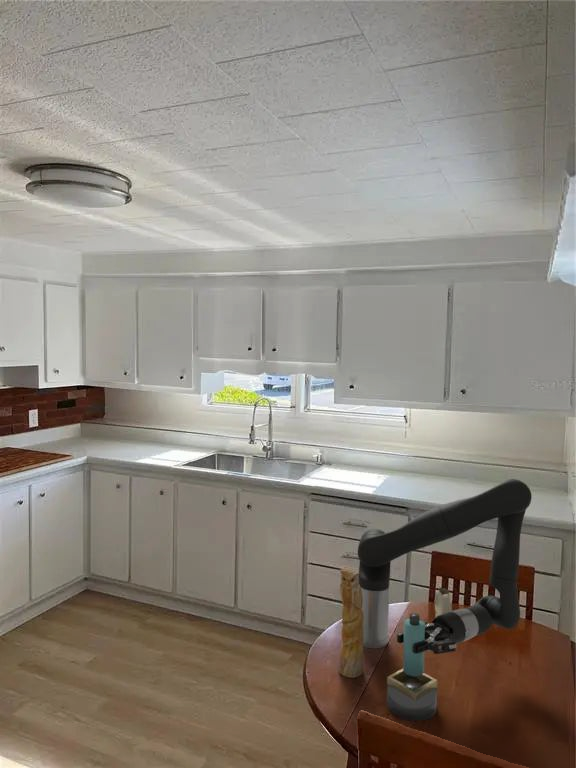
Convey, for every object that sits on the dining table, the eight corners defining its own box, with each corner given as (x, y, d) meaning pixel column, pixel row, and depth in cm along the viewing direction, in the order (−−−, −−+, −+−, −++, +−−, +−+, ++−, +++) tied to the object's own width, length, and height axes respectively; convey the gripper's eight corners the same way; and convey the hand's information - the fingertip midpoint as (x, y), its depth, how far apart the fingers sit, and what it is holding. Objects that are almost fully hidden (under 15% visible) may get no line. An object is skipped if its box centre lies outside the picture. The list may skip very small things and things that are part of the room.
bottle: (398, 669, 143) (399, 614, 142) (411, 662, 146) (412, 608, 145) (415, 678, 139) (416, 622, 138) (427, 671, 142) (429, 615, 141)
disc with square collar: (376, 702, 144) (377, 676, 143) (407, 684, 151) (407, 659, 151) (416, 727, 135) (416, 699, 134) (446, 707, 142) (447, 680, 142)
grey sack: (453, 628, 186) (466, 601, 185) (433, 622, 185) (446, 594, 184) (441, 612, 195) (454, 586, 194) (422, 606, 193) (435, 580, 192)
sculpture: (333, 681, 152) (336, 570, 150) (341, 663, 161) (344, 557, 159) (358, 686, 150) (361, 574, 148) (365, 667, 159) (368, 561, 157)
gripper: (435, 601, 155) (386, 616, 146) (478, 624, 143) (427, 642, 134) (435, 628, 155) (386, 645, 147) (477, 653, 143) (426, 673, 135)
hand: (405, 643), depth 140 cm, fingers closed on bottle, 5 cm apart
